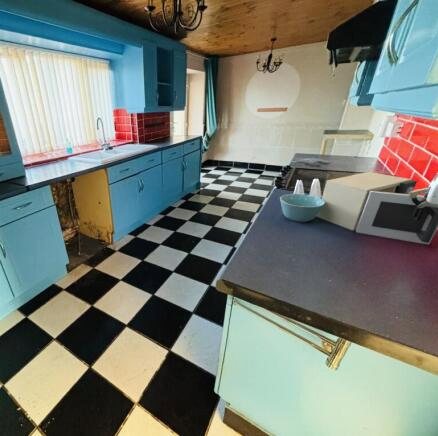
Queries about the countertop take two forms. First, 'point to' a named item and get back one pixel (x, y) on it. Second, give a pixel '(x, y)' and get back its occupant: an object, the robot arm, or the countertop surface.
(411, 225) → the microwave door
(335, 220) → the microwave
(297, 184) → the shaker set
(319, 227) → the countertop surface
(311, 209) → the bowl
